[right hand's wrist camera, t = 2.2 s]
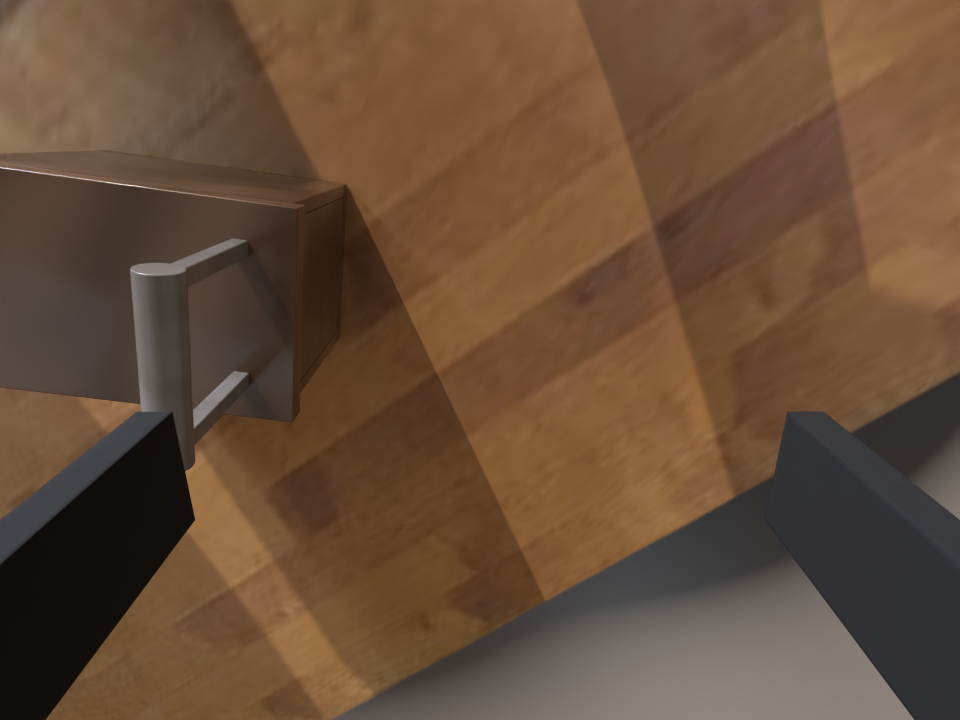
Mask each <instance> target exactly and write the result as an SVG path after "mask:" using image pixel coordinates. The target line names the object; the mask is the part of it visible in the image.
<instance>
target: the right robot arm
mask: <svg viewBox="0 0 960 720" xmlns="http://www.w3.org/2000/svg"><path fill="white" fill-rule="evenodd" d="M194 521H195V517H194V512H193V507H192V503H191V498H190V493H189V488H188V484H187V479H186V474H185V469H184V464H183V460H182V455H181V450H180V445H179V440H178V436H177V431H176V426H175V421H174V416H173V412H136V413H134V414H133V415H132V416H131V417H129V418H128V419H127V420H126V421H124V422H123V423H122V424H121V425H119V426H118V427H117V428H116V429H114V430H113V431H112V432H111V433H109V434H108V435H107V436H105V437H104V438H103V439H102V440H100V441H99V442H98V443H97V444H95V445H94V446H93V447H92V448H90V449H89V450H88V451H87V452H85V453H84V454H83V455H82V456H80V457H79V458H78V459H77V460H75V461H74V462H73V463H72V464H70V465H69V466H68V467H66V468H65V469H64V470H63V471H61V472H60V473H59V474H58V475H56V476H55V477H54V478H53V479H51V480H50V481H49V482H48V483H46V484H45V485H44V486H43V487H41V488H40V489H39V490H38V491H36V492H35V493H34V494H33V495H31V496H30V497H29V498H27V499H26V500H25V501H24V502H22V503H21V504H20V505H19V506H17V507H16V508H15V509H14V510H12V511H11V512H10V513H9V514H7V515H6V516H5V517H4V518H2V519H1V520H0V720H46V718H47V717H48V716H49V714H50V713H51V712H52V710H53V709H54V708H55V706H56V705H57V704H58V702H59V701H60V700H61V698H62V697H63V696H64V694H65V693H66V692H67V690H68V689H69V688H70V686H71V685H72V684H73V682H74V681H75V680H76V678H77V677H78V676H79V674H80V673H81V672H82V670H83V669H84V668H85V666H86V665H87V664H88V662H89V661H90V660H91V658H92V657H93V656H94V654H95V653H96V652H97V650H98V649H99V648H100V646H101V645H102V644H103V642H104V641H105V640H106V638H107V637H108V636H109V634H110V633H111V632H112V630H113V629H114V628H115V626H116V625H117V624H118V622H119V621H120V620H121V618H122V617H123V616H124V614H125V613H126V612H127V610H128V609H129V607H130V606H131V605H132V603H133V602H134V601H135V599H136V598H137V597H138V595H139V594H140V593H141V591H142V590H143V589H144V587H145V586H146V585H147V583H148V582H149V581H150V579H151V578H152V577H153V575H154V574H155V573H156V571H157V570H158V569H159V567H160V566H161V565H162V563H163V562H164V561H165V559H166V558H167V557H168V555H169V554H170V553H171V551H172V550H173V549H174V547H175V546H176V545H177V543H178V542H179V541H180V539H181V538H182V537H183V535H184V534H185V533H186V531H187V530H188V529H189V527H190V526H191V525H192V523H193V522H194ZM765 521H766V522H767V523H768V525H769V526H770V527H771V529H772V530H773V531H774V533H775V534H776V535H777V537H778V538H779V539H780V541H781V542H782V543H783V545H784V546H785V547H786V549H787V550H788V551H789V553H790V554H791V555H792V557H793V558H794V559H795V561H796V562H797V563H798V565H799V566H800V567H801V569H802V570H803V571H804V573H805V574H806V575H807V577H808V578H809V579H810V581H811V582H812V583H813V585H814V586H815V587H816V589H817V590H818V591H819V593H820V594H821V595H822V597H823V598H824V599H825V601H826V602H827V603H828V605H829V606H830V607H831V609H832V610H833V612H834V613H835V614H836V616H837V617H838V618H839V620H840V621H841V622H842V623H843V625H844V626H845V628H846V629H847V630H848V632H849V633H850V634H851V636H852V637H853V638H854V640H855V641H856V642H857V644H858V645H859V646H860V648H861V649H862V650H863V652H864V653H865V654H866V656H867V657H868V658H869V660H870V661H871V662H872V664H873V665H874V666H875V668H876V669H877V670H878V672H879V673H880V674H881V676H882V677H883V678H884V680H885V681H886V682H887V684H888V685H889V686H890V688H891V689H892V690H893V692H894V693H895V694H896V696H897V697H898V698H899V700H900V701H901V702H902V704H903V705H904V706H905V708H906V709H907V710H908V712H909V713H910V714H911V716H912V717H913V718H914V720H960V520H959V519H958V518H956V517H955V516H954V515H953V514H951V513H950V512H949V511H948V510H946V509H945V508H944V507H943V506H941V505H940V504H939V503H938V502H936V501H935V500H934V499H933V498H931V497H930V496H929V495H927V494H926V493H925V492H924V491H922V490H921V489H920V488H919V487H917V486H916V485H915V484H914V483H912V482H911V481H910V480H909V479H907V478H906V477H905V476H904V475H902V474H901V473H900V472H899V471H897V470H896V469H895V468H893V467H892V466H891V465H890V464H888V463H887V462H886V461H885V460H883V459H882V458H881V457H880V456H878V455H877V454H876V453H875V452H873V451H872V450H871V449H870V448H868V447H867V446H866V445H865V444H863V443H862V442H861V441H860V440H858V439H857V438H856V437H854V436H853V435H852V434H851V433H849V432H848V431H847V430H846V429H844V428H843V427H842V426H841V425H839V424H838V423H837V422H836V421H834V420H833V419H832V418H831V417H829V416H828V415H827V414H826V413H824V412H787V416H786V421H785V426H784V431H783V436H782V440H781V445H780V450H779V455H778V460H777V464H776V469H775V474H774V479H773V484H772V488H771V493H770V498H769V503H768V507H767V512H766V517H765Z"/></svg>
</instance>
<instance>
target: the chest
mask: <svg viewBox="0 0 960 720" xmlns="http://www.w3.org/2000/svg"><path fill="white" fill-rule="evenodd" d="M0 163H3V164H10V165H17V166H24V167H32V168H39V169H46V170H53V171H61V172H68V173H75V174H83V175H90V176H97V177H104V178H112V179H119V180H126V181H133V182H141V183H148V184H155V185H162V186H170V187H177V188H184V189H191V190H199V191H206V192H213V193H220V194H228V195H235V196H242V197H249V198H257V199H264V200H271V201H278V202H286V203H293V204H300V205H305V230H304V266H303V302H302V338H301V374H300V393H301V391H302V390H303V388H304V387H305V386H306V384H307V383H308V381H309V380H310V378H311V377H312V376H313V374H314V373H315V371H316V370H317V369H318V367H319V366H320V364H321V363H322V361H323V360H324V359H325V357H326V356H327V354H328V353H329V351H330V350H331V349H332V347H333V346H334V344H335V343H336V341H337V340H338V339H339V329H340V310H341V291H342V272H343V252H344V233H345V214H346V195H347V184H342V183H335V182H328V181H321V180H313V179H306V178H299V177H292V176H285V175H278V174H271V173H263V172H256V171H249V170H242V169H235V168H228V167H221V166H213V165H206V164H199V163H192V162H185V161H178V160H171V159H164V158H156V157H149V156H142V155H135V154H128V153H121V152H114V151H106V150H102V151H74V152H44V153H14V154H0Z"/></svg>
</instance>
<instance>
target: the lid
mask: <svg viewBox="0 0 960 720" xmlns="http://www.w3.org/2000/svg"><path fill="white" fill-rule="evenodd" d="M304 230H305V205H300V204H293V203H286V202H278V201H271V200H264V199H257V198H249V197H242V196H235V195H228V194H220V193H213V192H206V191H199V190H191V189H184V188H177V187H170V186H162V185H155V184H148V183H141V182H133V181H126V180H119V179H112V178H104V177H97V176H90V175H83V174H75V173H68V172H61V171H53V170H46V169H39V168H32V167H24V166H17V165H10V164H3V163H0V387H1V388H10V389H18V390H27V391H35V392H43V393H52V394H60V395H68V396H77V397H85V398H94V399H102V400H110V401H119V402H127V403H135V404H141V412H173V416H174V421H175V426H176V431H177V436H178V440H179V445H180V450H181V455H182V460H183V464H184V469H185V471H186V470H188V469H190V468H191V467H192V466H193V465H194V463H195V444H196V443H197V442H198V441H199V440H200V439H201V438H202V437H203V436H204V435H205V434H206V433H207V432H208V430H209V429H210V428H211V427H212V426H213V425H214V424H215V423H216V422H217V421H218V420H219V419H220V417H221V416H222V415H223V414H228V415H236V416H244V417H253V418H261V419H269V420H278V421H286V422H293V421H294V419H295V418H296V416H297V415H298V413H299V411H300V374H301V338H302V302H303V266H304Z"/></svg>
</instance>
